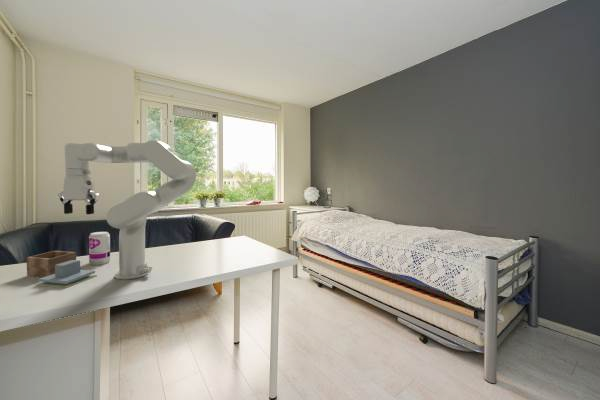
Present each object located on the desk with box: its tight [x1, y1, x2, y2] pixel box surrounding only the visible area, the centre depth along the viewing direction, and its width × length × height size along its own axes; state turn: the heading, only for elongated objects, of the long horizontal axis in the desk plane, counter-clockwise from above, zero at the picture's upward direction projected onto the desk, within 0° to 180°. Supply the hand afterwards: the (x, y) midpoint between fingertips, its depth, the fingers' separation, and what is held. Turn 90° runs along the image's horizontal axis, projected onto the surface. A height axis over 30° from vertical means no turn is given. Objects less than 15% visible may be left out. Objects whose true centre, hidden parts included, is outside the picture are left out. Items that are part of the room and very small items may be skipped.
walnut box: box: [26, 250, 77, 278], centre depth 111 cm, size 11×11×8 cm
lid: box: [38, 259, 96, 284], centre depth 103 cm, size 12×12×7 cm
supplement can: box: [88, 231, 111, 266], centre depth 126 cm, size 8×8×15 cm
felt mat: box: [35, 274, 97, 289], centre depth 104 cm, size 13×13×1 cm
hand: (79, 213), depth 108 cm, fingers open, 9 cm apart
